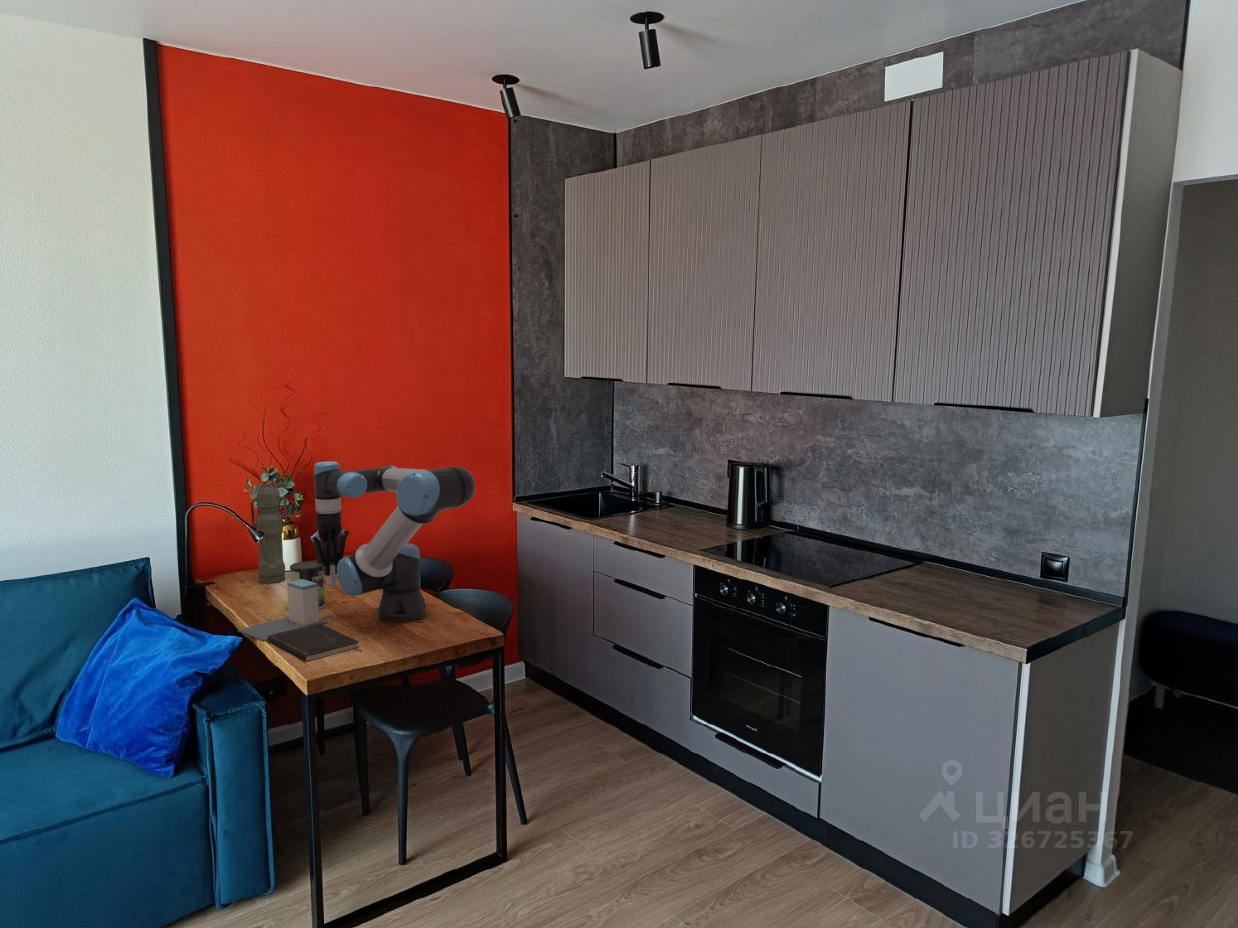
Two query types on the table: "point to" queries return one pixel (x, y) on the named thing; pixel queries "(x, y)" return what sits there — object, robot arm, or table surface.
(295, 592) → the slab
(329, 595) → the table surface
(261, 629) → the mat
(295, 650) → the hardcover book
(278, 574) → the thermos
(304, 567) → the coffee can
